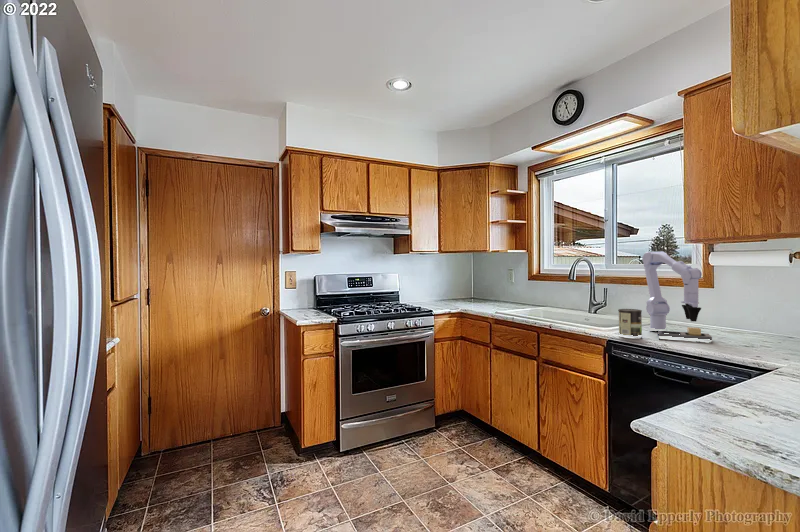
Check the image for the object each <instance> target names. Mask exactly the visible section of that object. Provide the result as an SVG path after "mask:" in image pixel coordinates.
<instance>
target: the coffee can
mask: <svg viewBox="0 0 800 532" xmlns="http://www.w3.org/2000/svg"><path fill="white" fill-rule="evenodd" d="M642 311H643V310H641V309H638V308H637V309H636V308H618V334H619V333H620V334H623V335H633V336H638V335H642V336H643V332H642V330H643V328H642V327H643V326H642V321H643V320H642V318H643V317H642Z"/></svg>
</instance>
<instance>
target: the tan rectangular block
mask: <svg viewBox="0 0 800 532" xmlns="http://www.w3.org/2000/svg"><path fill="white" fill-rule="evenodd" d="M686 328H687V329H686V330H687V335H694V336H701V333H702V329H701V328H699V327H691V326H690V327H686Z"/></svg>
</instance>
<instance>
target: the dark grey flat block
mask: <svg viewBox="0 0 800 532" xmlns="http://www.w3.org/2000/svg"><path fill="white" fill-rule="evenodd" d="M664 333H669V334H664ZM658 334H659V336H672V337H684V338H698V339H710V340H712V341H713V336H712V335H711V334H709V333H703V332H701V336H694V335H687V332H686V331H673V330H672V331H671V330H667V331H658V332H657V335H658ZM679 334H680V335H679Z"/></svg>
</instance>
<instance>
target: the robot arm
mask: <svg viewBox="0 0 800 532" xmlns="http://www.w3.org/2000/svg"><path fill="white" fill-rule="evenodd" d="M641 258H642V263H643V269H644V273H645V278H646V283H647V288H648V294H649V298H648V300H646V301H645V302H646V307H645V310H646V313H648V315H649V321H650V322H649V324H650V325H649V328H655V329H665V328H666V329H667V316H668V314H669V313H670V310H671V309H670V305H669V304H668V301H667V299H665V298H664V297H663V296H662V295H663V294H662V291H661V287H660V283H659V282H660V281H659V276H658V273H657V272H658V271H657V269H658V268H659V267H660V266H662V265H663V264H665V265H667V266H669V267H671V270H672V271H673V272H674V273H676V274H678V275H679V276H680V277H681V279H682V283H683V300H681V301H680V303H681V307H682V309H683V312H684V315H685V319H686V320H689V321H690V322H697V321H698V316H699V314H700V311H701V310H702V307H699V304H700V302H699V280H700V279H701V278H702V276H703V275H702V271H701V270H700V269H699V268H698V267H694V268H693V267H692V265H688V264H686V263H685V261H683V260H678V261H677V260H675V259H674V258H672V257H671V256H669V255H668V253H667V252H666V251H662V250H661V251H645V252H644V253H643V255H642V256H641Z"/></svg>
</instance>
